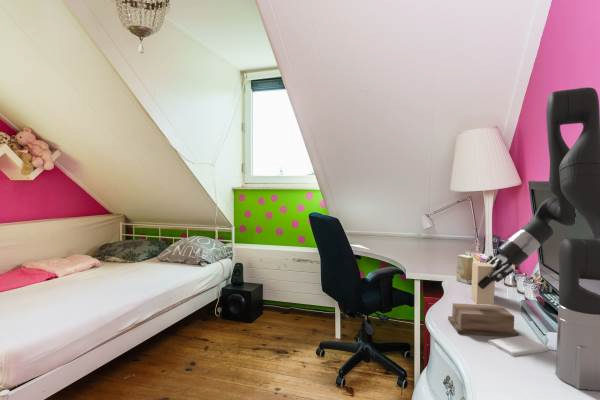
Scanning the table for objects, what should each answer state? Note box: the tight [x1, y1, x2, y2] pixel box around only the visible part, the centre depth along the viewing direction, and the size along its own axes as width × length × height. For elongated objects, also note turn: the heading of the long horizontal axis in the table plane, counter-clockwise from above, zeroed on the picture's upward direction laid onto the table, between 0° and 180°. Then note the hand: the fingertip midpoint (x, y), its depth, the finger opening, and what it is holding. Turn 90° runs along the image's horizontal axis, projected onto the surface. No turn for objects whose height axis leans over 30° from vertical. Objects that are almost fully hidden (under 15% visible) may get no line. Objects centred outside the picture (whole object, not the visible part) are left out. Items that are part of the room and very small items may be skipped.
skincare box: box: [455, 254, 473, 285], centre depth 166 cm, size 6×4×12 cm
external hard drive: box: [487, 334, 549, 357], centre depth 101 cm, size 2×8×12 cm
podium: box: [447, 302, 520, 338], centre depth 113 cm, size 11×17×6 cm, turn 82°
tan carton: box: [470, 262, 496, 305], centre depth 112 cm, size 5×5×12 cm
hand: (476, 284), depth 113 cm, fingers closed on tan carton, 5 cm apart
